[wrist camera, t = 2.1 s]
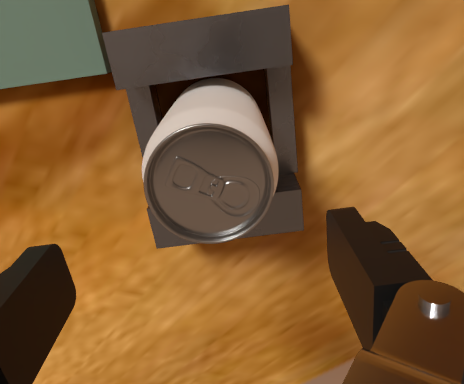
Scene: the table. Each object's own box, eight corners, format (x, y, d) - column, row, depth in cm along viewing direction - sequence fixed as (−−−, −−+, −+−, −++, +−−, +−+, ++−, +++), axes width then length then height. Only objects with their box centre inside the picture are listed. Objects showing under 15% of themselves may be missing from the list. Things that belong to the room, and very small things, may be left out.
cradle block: (281, 8, 24) (294, 4, 19) (295, 198, 29) (308, 229, 25) (120, 32, 24) (96, 33, 20) (163, 215, 30) (152, 249, 25)
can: (239, 177, 29) (246, 270, 18) (159, 145, 28) (114, 223, 17) (276, 99, 26) (311, 150, 15) (190, 60, 25) (162, 86, 14)
